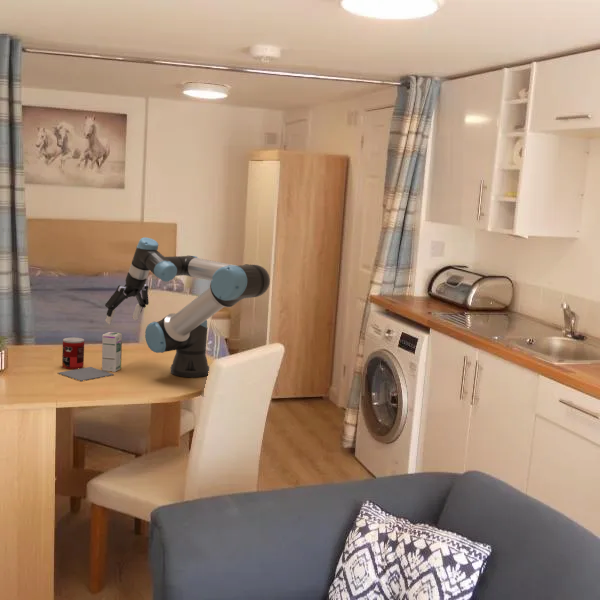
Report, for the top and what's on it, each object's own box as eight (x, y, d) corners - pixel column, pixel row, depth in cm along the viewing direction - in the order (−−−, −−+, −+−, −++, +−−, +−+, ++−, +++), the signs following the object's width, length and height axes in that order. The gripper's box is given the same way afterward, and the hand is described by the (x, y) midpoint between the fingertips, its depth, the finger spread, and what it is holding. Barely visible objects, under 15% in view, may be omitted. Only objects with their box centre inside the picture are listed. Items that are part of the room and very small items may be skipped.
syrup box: (115, 372, 284) (116, 335, 282) (101, 370, 285) (102, 333, 282) (121, 368, 289) (122, 332, 287) (107, 367, 290) (108, 331, 288)
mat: (113, 375, 279) (113, 374, 279) (81, 381, 267) (81, 380, 267) (90, 367, 287) (90, 366, 287) (57, 373, 275) (57, 372, 275)
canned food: (60, 365, 288) (61, 337, 287) (81, 364, 292) (82, 337, 290) (64, 369, 282) (64, 341, 280) (85, 368, 285) (86, 341, 284)
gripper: (155, 268, 297) (139, 312, 305) (106, 271, 277) (90, 318, 285) (167, 278, 294) (150, 322, 302) (117, 282, 274) (101, 329, 282)
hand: (121, 320), depth 294 cm, fingers open, 13 cm apart
